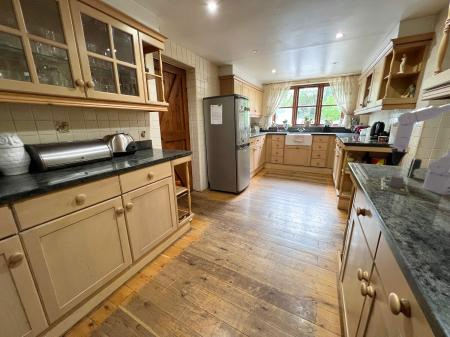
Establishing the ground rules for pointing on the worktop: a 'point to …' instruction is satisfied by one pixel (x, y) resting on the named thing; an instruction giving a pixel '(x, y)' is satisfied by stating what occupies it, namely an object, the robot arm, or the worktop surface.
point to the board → (385, 185)
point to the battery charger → (414, 167)
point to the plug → (396, 182)
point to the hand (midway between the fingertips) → (395, 163)
